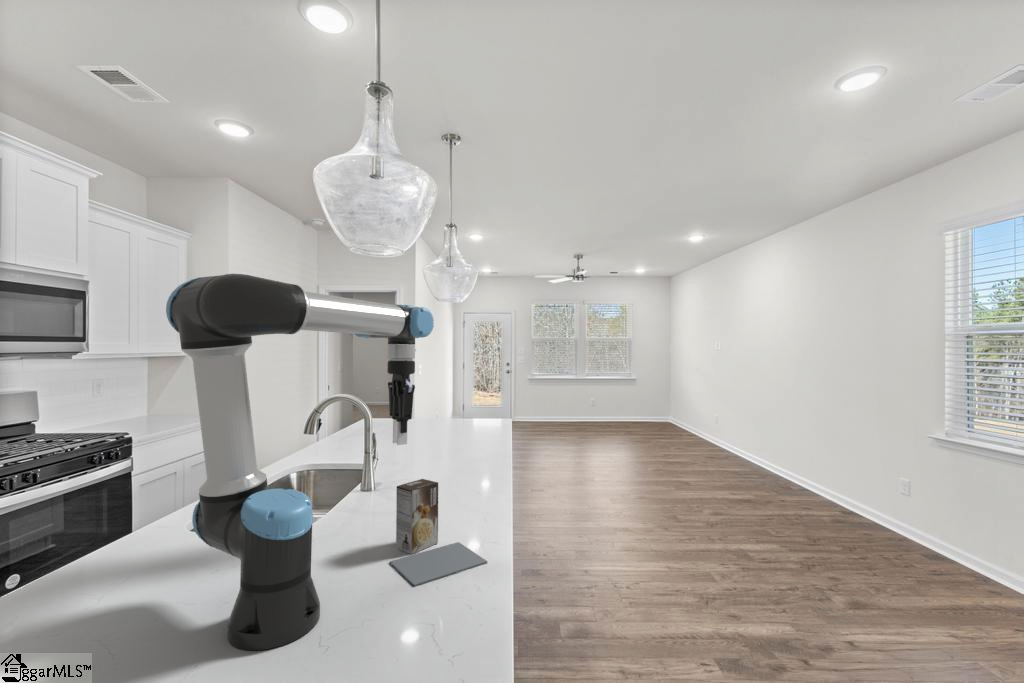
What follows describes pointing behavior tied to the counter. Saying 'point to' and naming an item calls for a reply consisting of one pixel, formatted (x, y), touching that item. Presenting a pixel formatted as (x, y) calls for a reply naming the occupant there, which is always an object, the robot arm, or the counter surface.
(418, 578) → the mat
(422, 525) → the coffee box
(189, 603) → the counter surface
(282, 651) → the counter surface
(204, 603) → the counter surface
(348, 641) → the counter surface
